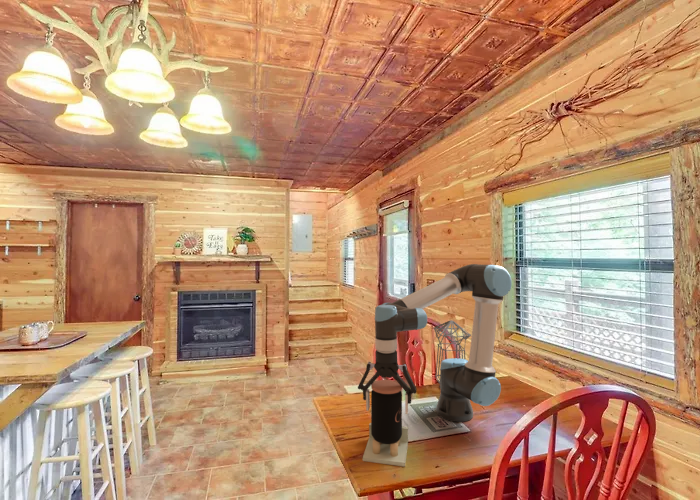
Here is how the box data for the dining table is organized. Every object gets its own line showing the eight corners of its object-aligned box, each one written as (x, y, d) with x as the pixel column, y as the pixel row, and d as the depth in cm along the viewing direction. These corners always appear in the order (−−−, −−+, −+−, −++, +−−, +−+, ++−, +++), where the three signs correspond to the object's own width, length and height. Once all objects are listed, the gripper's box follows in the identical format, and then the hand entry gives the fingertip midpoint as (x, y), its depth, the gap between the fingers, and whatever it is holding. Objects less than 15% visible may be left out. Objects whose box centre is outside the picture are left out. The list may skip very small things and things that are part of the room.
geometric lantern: (460, 383, 185) (461, 317, 184) (471, 396, 170) (472, 324, 169) (430, 383, 185) (431, 317, 184) (438, 396, 169) (440, 324, 168)
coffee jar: (401, 446, 116) (400, 392, 116) (369, 443, 119) (369, 390, 119) (402, 430, 127) (402, 380, 127) (373, 427, 129) (373, 378, 129)
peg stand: (407, 443, 128) (407, 426, 128) (405, 466, 114) (405, 448, 114) (369, 438, 131) (369, 422, 131) (362, 460, 117) (362, 442, 117)
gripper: (423, 348, 123) (423, 408, 124) (353, 345, 129) (354, 403, 129) (422, 355, 116) (423, 419, 116) (348, 351, 122) (349, 412, 122)
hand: (387, 410), depth 123 cm, fingers open, 13 cm apart
